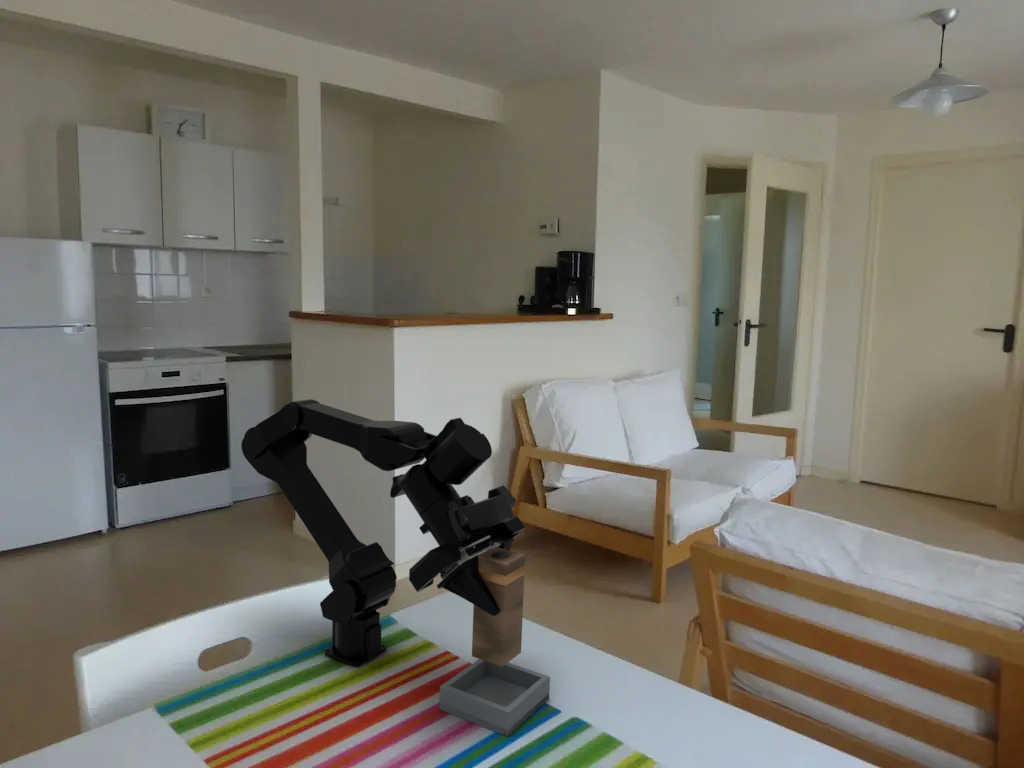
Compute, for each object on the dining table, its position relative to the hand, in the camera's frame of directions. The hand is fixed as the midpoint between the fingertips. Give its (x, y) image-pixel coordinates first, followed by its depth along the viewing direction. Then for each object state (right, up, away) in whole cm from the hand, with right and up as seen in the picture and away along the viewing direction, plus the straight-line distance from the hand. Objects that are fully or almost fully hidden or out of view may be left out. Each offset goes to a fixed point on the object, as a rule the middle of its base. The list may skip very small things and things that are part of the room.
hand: (507, 607), depth 93 cm
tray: (-2, -13, +2) cm, 13 cm away
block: (-1, -6, +2) cm, 7 cm away
